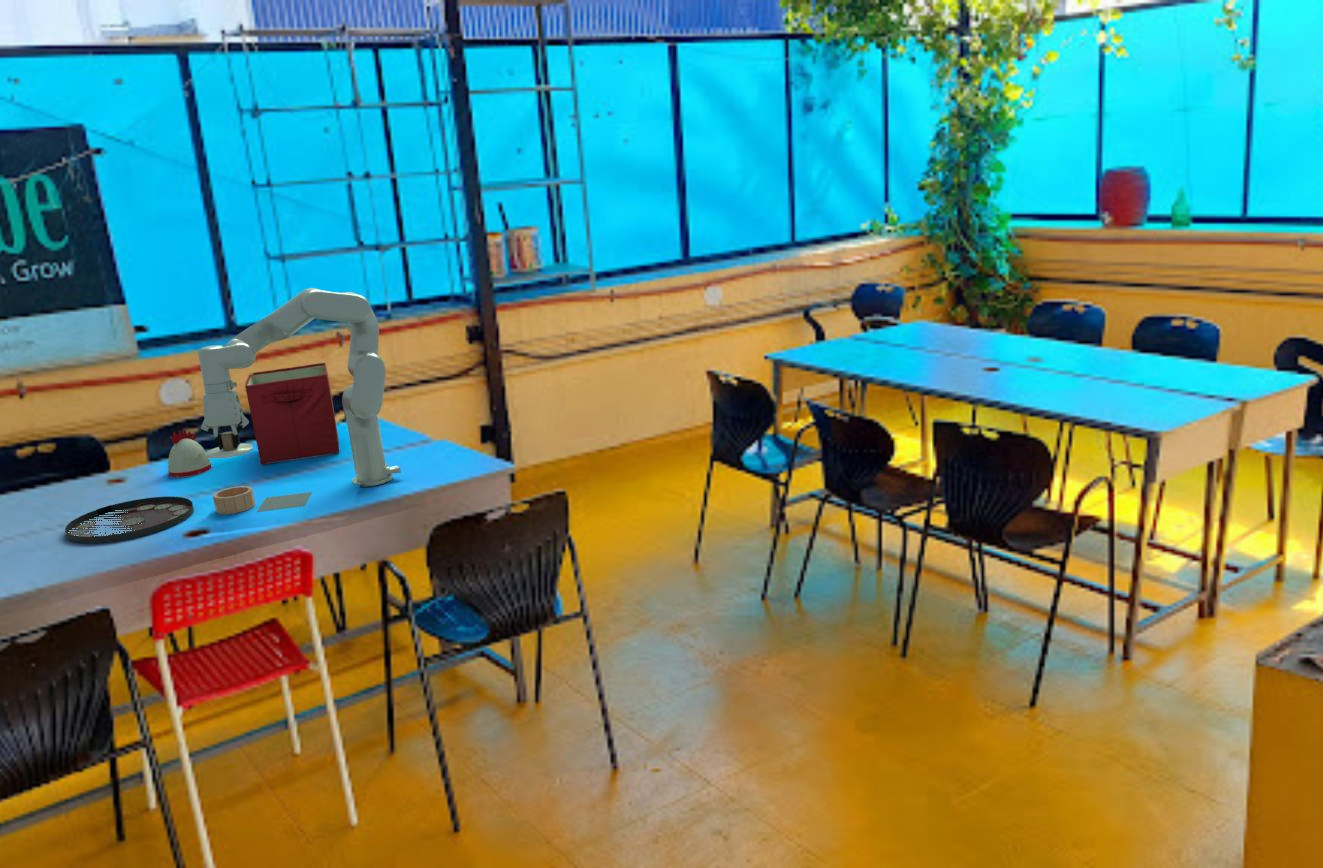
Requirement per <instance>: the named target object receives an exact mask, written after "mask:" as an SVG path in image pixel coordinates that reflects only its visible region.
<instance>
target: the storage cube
mask: <svg viewBox="0 0 1323 868" xmlns="http://www.w3.org/2000/svg"><path fill="white" fill-rule="evenodd" d="M329 379H330V378H329V373H328V367H327V364H326V362H320V363H313V364H312V363H311V364H307V365H306V364H305V365H299V366H292V367H285V368H277V369H271V370H263V371H255V372H250V373H248V376H247V379H246V381H245V383H244V388H245V392H246V396H247V397H246V398H247V401H248V407H249V410H250V411H249V412H250V416H251V417H250V418H251V422H252V426H253V432H254V437H255V441H256V446H257V447H256V448H257V452H258V456H259V457H258V458H259V462H260V465H262V466H265V465H269V464H273V463H279V462H289V461H294V460H302V459H308V458H314V457H322V456H323V457H324V456H329V455H336V454H339V453H340V443H339V440H340V439H339V431H338V427H337V420H336V415H335V410H334V409H335V408H334V402H333V397H332V389H331V384H330V380H329Z"/></svg>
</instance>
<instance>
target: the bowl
mask: <svg viewBox="0 0 1323 868" xmlns="http://www.w3.org/2000/svg"><path fill="white" fill-rule="evenodd" d="M212 499H213V503H214V509H215V513H217V514H219V515H231V514H237V513H238V514H239V513H241V512H244V511H248V510H251V509H253V508H254V507H255V506H256V499H255V494H254V490H253V488H252V487H251V486H247V485H242V486H241V485H240V486H232V487H228V488H224V489H221V490H219V491H217V492H215V493H214V494H213V495H212Z"/></svg>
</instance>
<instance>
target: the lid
mask: <svg viewBox="0 0 1323 868" xmlns="http://www.w3.org/2000/svg"><path fill="white" fill-rule="evenodd" d="M220 433H221V432H220ZM220 436H221V441H222V446H223V449H222V450H219V447H217V446H216V447H214V448H211V449H209V450H208V451H206V454H207V457H209V459H227V458H233V457H238V456H242V455H245V454H249V453H250V452H252V451H253V450H254V447H253V444H251V443H240V445H239V446H238V448H234V444H233V439H232V436H233V431H226V432H222V433H221V434H220Z"/></svg>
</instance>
